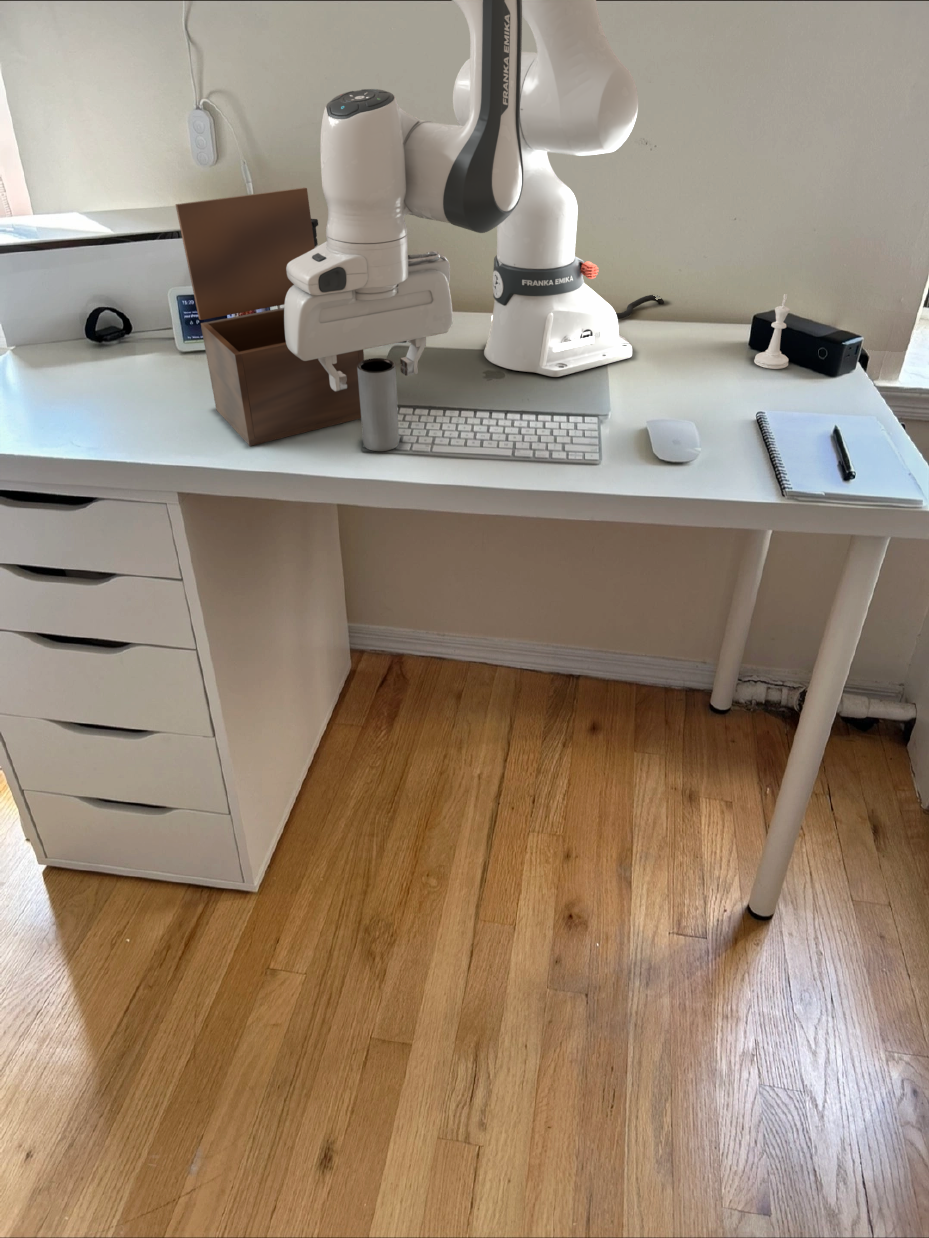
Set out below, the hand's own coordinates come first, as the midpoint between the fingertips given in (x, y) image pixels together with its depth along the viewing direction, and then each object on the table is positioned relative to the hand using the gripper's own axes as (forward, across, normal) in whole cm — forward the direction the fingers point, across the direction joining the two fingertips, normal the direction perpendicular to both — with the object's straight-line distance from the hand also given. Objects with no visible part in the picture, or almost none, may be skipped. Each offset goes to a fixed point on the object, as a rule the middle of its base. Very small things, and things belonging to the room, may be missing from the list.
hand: (374, 381), depth 108 cm
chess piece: (+8, -62, +7) cm, 63 cm away
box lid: (-11, +6, -21) cm, 24 cm away
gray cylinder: (+9, -1, 0) cm, 9 cm away
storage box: (+8, +6, -14) cm, 18 cm away
